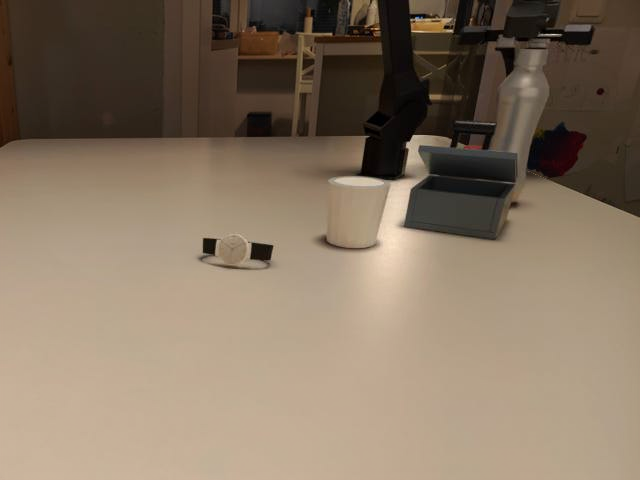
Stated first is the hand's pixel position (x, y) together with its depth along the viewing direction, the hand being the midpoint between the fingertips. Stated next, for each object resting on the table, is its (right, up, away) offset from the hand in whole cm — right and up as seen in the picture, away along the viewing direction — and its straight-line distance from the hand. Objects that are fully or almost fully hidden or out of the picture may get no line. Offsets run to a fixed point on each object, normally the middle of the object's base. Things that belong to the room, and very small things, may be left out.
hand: (510, 94), depth 102 cm
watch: (-50, -34, -36) cm, 70 cm away
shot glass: (-36, -30, -29) cm, 55 cm away
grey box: (-20, -27, -23) cm, 40 cm away
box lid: (-20, -20, -26) cm, 39 cm away
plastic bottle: (-9, -21, -12) cm, 26 cm away
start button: (-5, -9, +3) cm, 11 cm away
